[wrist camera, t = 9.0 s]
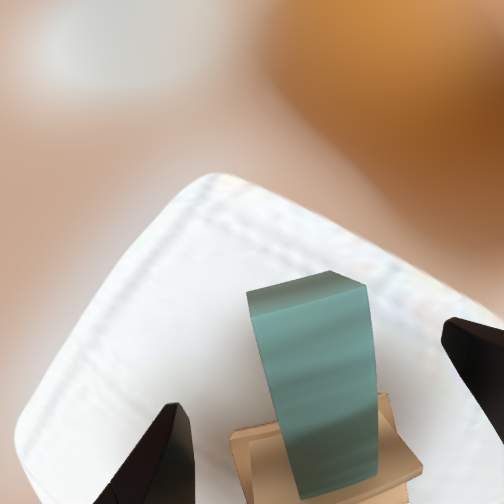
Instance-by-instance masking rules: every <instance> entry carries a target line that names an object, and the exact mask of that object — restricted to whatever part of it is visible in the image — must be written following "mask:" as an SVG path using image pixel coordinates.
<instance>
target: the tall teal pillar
mask: <svg viewBox="0 0 504 504" xmlns="http://www.w3.org/2000/svg"><path fill="white" fill-rule="evenodd" d="M246 294H247V300H248V306H249V311H250V317H251V321H252V325H253V329H254V332H255V336H256V340H257V344H258V348H259V352H260V356H261V359H262V363H263V367H264V371H265V375H266V378H267V382H268V386H269V389H270V393H271V397H272V401H273V404H274V408H275V412H276V415H277V419H278V423H279V426H280V430H281V433H282V434H281V435H277V436H272V437H268V438H263V439H258V440H253V441H249V449H250V461H251V473H252V484H253V496H254V504H356V503H359V502H361V501H364V500H367V499H369V498H372V497H374V496H377V495H379V494H381V493H384V492H386V491H388V490H390V489H393V488H395V487H397V486H399V485H401V484H403V483H405V482H407V481H409V480H411V479H413V478H415V477H417V476H419V475H421V474H422V470H423V465H422V463H421V462H420V461H419V460H418V458H417V457H416V456H415V455H414V453H413V452H412V451H411V450H410V449H409V447H408V446H407V445H406V444H405V442H404V441H403V440H402V439H401V437H400V436H399V435H398V434H397V432H396V431H395V430H394V429H393V427H392V426H391V425H390V424H389V422H388V421H387V420H386V419H385V418H384V416H383V415H382V414H381V413H380V411H379V410H378V395H377V377H376V363H375V352H374V341H373V332H372V323H371V315H370V308H369V300H368V293H367V287H366V285H364V284H362V283H360V282H357V281H355V280H352V279H350V278H347V277H345V276H342V275H340V274H338V273H335V272H333V271H326V272H322V273H319V274H315V275H311V276H307V277H304V278H300V279H296V280H292V281H288V282H284V283H281V284H277V285H273V286H269V287H265V288H261V289H257V290H253V291H249V292H246Z"/></svg>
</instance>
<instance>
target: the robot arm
mask: <svg viewBox="0 0 504 504" xmlns="http://www.w3.org/2000/svg"><path fill="white" fill-rule="evenodd" d="M441 344H442V346H443V348H444V349H445V351H446V353H447V355H448V356H449V358H450V360H451V361H452V363H453V365H454V367H455V369H456V370H457V372H458V374H459V375H460V377H461V379H462V380H463V382H464V383H465V384H466V386H467V387H468V389H469V390H470V392H471V393H472V395H473V396H474V398H475V399H476V401H477V402H478V404H479V405H480V407H481V408H482V410H483V411H484V413H485V414H486V416H487V418H488V419H489V421H490V422H491V424H492V426H493V427H494V429H495V431H496V432H497V434H498V436H499V437H500V439H501V441H502V442H503V444H504V330H501V329H497V328H493V327H490V326H486V325H482V324H479V323H475V322H471V321H468V320H464V319H460V318H457V317H452V318H450V319H448V320H446V321H445V322H444V325H443V331H442V336H441ZM93 504H195V461H194V452H193V444H192V436H191V426H190V421H189V418H188V416H187V414H186V413H185V411H184V410H183V408H182V406H181V405H180V403H178V402H174V403H167V404H166V405H164V407H163V408H162V410H161V411H160V413H159V414H158V415H157V417H156V418H155V420H154V421H153V422H152V424H151V425H150V427H149V428H148V429H147V431H146V432H145V434H144V435H143V436H142V438H141V439H140V441H139V442H138V443H137V445H136V446H135V448H134V449H133V450H132V452H131V453H130V455H129V456H128V457H127V459H126V460H125V461H124V463H123V464H122V466H121V467H120V468H119V470H118V471H117V473H116V474H115V475H114V477H113V478H112V479H111V481H110V483H108V485H107V486H106V487H105V489H104V490H103V491H102V493H101V494H100V495H99V497H98V498H97V499H96V500H95V502H94V503H93Z"/></svg>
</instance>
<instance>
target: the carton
mask: <svg viewBox="0 0 504 504" xmlns="http://www.w3.org/2000/svg"><path fill="white" fill-rule="evenodd" d="M377 395H378V410H379V411H380V413H381V414H382V415H383V416H384V418H385V419H386V420H387V421H388V422H389V424H390V425H391V426H392V427H393V429H394V430H395V431H396V427H395V423H394V418H393V414H392V410H391V406H390V402H389V398H388V394H385V393H377ZM281 434H282V433H281V430H280V426H279V423H278V421H277V422H273V423H268V424H264V425H259V426H254V427H250V428H244V429H239V430H235V431H234V433H233V434H232V436H231V437H230V438H229V444H230V448H231V451H232V455H233V458H234V462H235V465H236V469H237V472H238V476H239V479H240V482H241V486H242V489H243V492H244V495H245V498H246V501H247V504H254V496H253V484H252V473H251V461H250V449H249V441H253V440H258V439H263V438H268V437H272V436H277V435H281ZM407 503H409V499H408V492H407V486H406V482H405V483H403V484H401V485H399V486H397V487H395V488H393V489H390V490H388V491H386V492H384V493H381V494H379V495H377V496H374V497H372V498H369V499H367V500H364V501H361V502H359V503H356V504H407Z"/></svg>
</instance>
